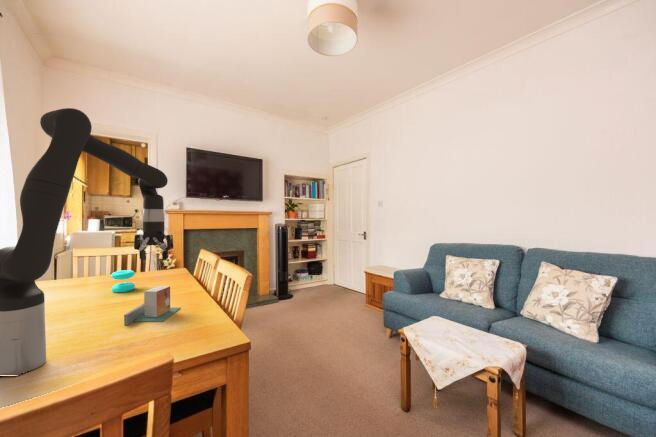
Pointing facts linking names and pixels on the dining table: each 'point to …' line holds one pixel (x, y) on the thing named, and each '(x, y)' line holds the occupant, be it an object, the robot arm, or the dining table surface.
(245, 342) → the dining table surface
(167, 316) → the mat
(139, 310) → the divider wall
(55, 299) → the dining table surface
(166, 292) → the small box
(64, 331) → the dining table surface
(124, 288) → the donuts
